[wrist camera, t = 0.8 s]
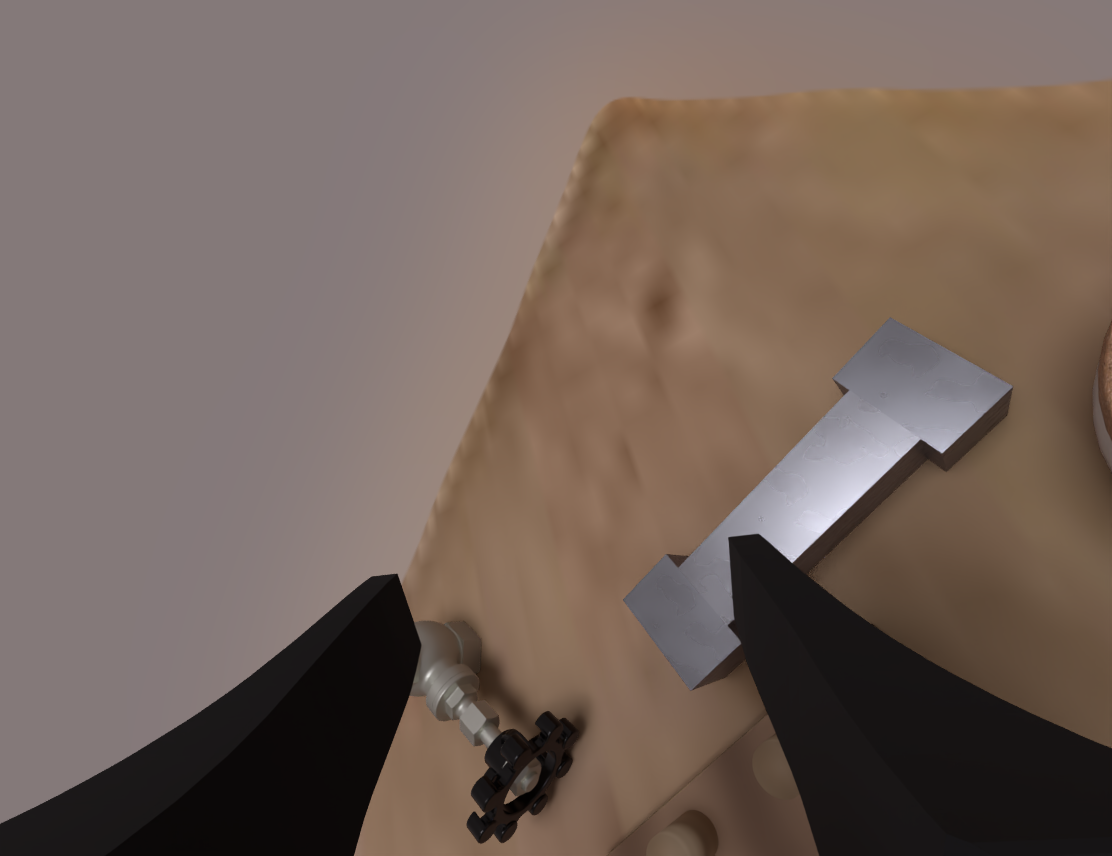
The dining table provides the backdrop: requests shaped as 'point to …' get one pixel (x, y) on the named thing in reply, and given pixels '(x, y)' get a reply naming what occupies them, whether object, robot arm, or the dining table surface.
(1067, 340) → the dining table surface
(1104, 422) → the lidded jar
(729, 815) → the peg rack
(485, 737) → the valve
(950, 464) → the metal i-beam
